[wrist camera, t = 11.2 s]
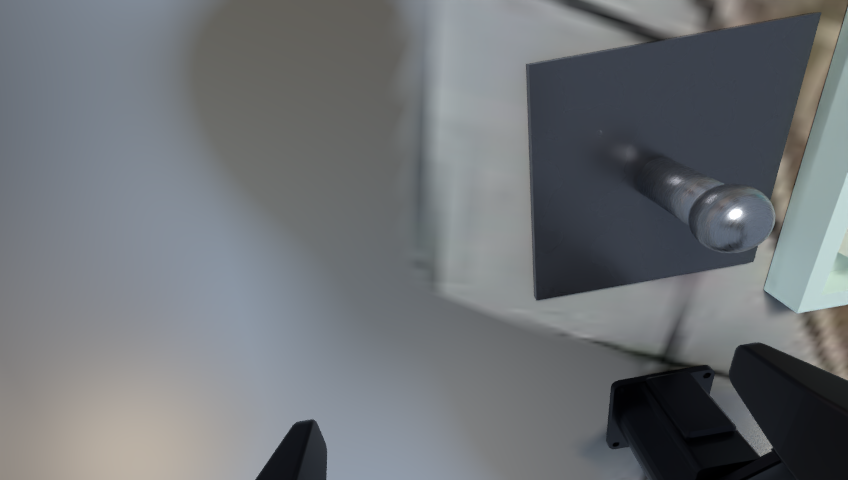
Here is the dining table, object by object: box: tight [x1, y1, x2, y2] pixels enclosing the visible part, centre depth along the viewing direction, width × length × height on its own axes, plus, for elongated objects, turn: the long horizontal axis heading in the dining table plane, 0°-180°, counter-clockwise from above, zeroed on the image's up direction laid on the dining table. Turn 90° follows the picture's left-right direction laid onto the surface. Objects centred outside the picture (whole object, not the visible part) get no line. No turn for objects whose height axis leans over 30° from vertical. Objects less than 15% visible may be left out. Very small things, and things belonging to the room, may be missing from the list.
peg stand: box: [526, 12, 821, 300], centre depth 17 cm, size 12×12×6 cm
